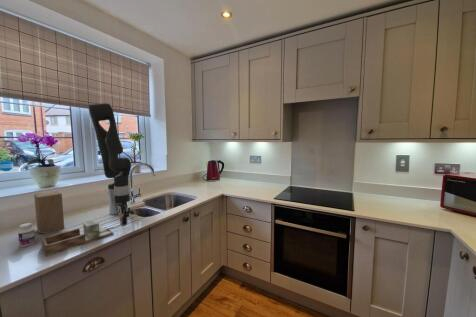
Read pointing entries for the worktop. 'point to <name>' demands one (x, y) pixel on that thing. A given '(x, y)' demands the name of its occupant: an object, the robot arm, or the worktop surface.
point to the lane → (69, 240)
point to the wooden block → (49, 211)
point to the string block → (96, 227)
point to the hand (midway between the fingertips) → (123, 222)
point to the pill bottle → (26, 235)
